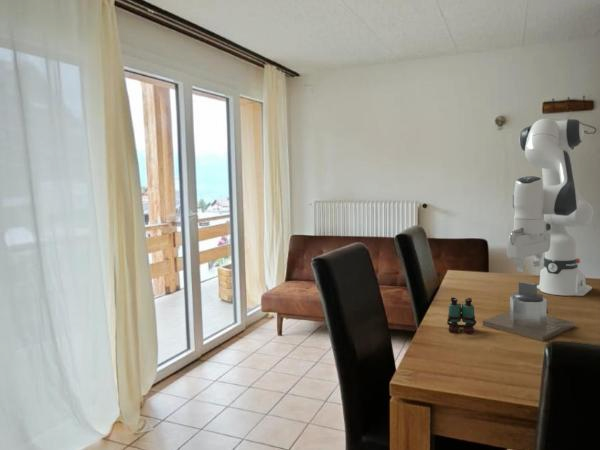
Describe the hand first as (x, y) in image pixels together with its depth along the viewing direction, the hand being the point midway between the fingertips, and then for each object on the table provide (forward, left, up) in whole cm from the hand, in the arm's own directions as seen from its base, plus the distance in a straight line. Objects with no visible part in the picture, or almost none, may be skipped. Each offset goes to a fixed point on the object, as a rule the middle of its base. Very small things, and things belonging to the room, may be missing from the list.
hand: (528, 268), depth 146 cm
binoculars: (+20, -11, -20) cm, 30 cm away
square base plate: (0, 0, -19) cm, 19 cm away
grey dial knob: (0, 0, -12) cm, 12 cm away
